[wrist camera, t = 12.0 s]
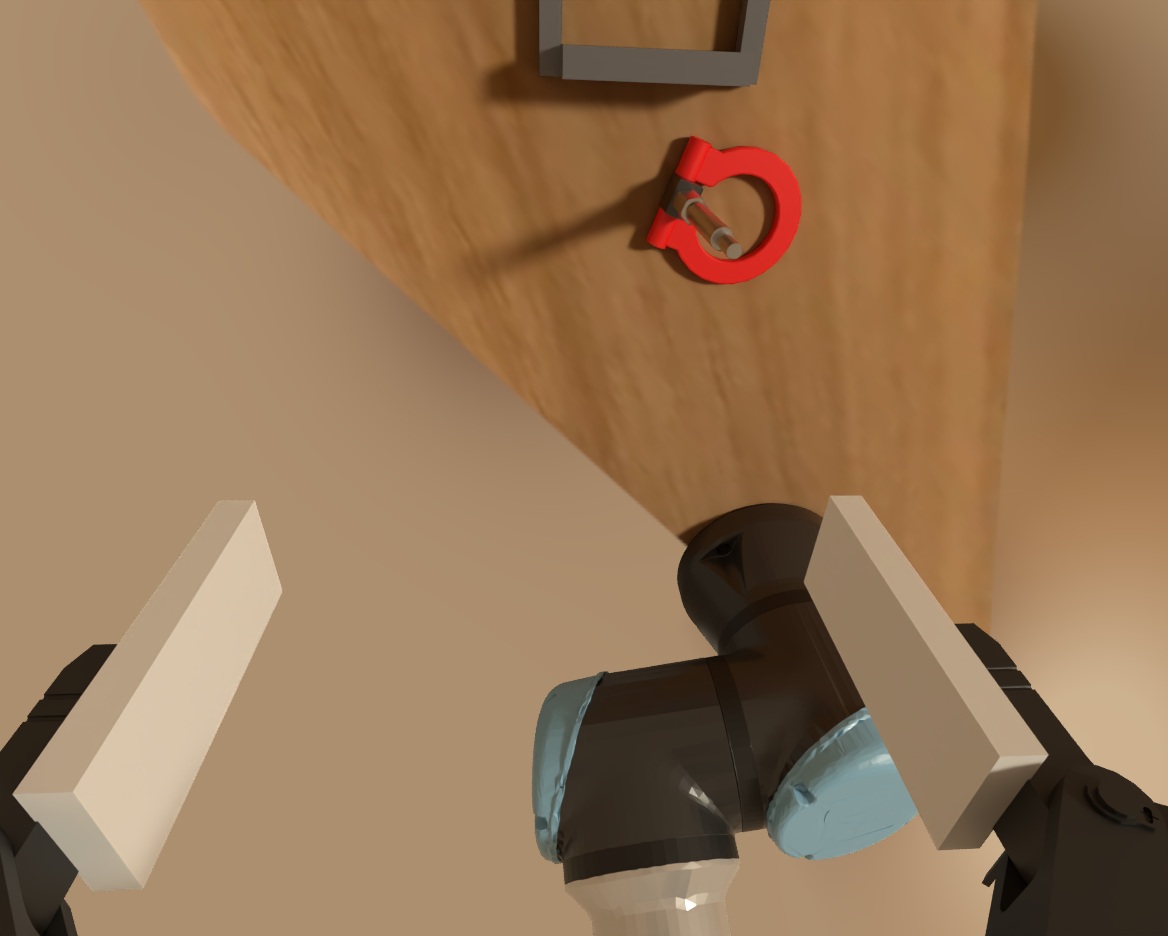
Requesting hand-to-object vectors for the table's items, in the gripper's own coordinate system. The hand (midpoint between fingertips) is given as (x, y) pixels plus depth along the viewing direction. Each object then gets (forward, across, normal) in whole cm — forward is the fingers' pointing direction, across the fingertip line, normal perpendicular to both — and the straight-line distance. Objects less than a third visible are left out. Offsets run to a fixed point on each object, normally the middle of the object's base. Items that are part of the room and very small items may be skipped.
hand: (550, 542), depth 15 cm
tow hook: (+32, -12, -1) cm, 34 cm away
